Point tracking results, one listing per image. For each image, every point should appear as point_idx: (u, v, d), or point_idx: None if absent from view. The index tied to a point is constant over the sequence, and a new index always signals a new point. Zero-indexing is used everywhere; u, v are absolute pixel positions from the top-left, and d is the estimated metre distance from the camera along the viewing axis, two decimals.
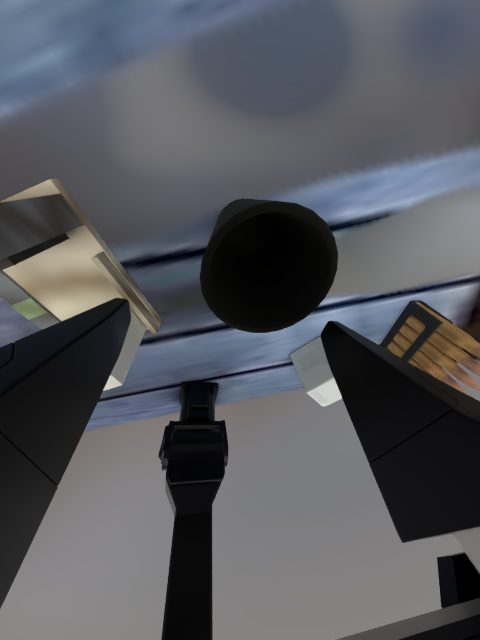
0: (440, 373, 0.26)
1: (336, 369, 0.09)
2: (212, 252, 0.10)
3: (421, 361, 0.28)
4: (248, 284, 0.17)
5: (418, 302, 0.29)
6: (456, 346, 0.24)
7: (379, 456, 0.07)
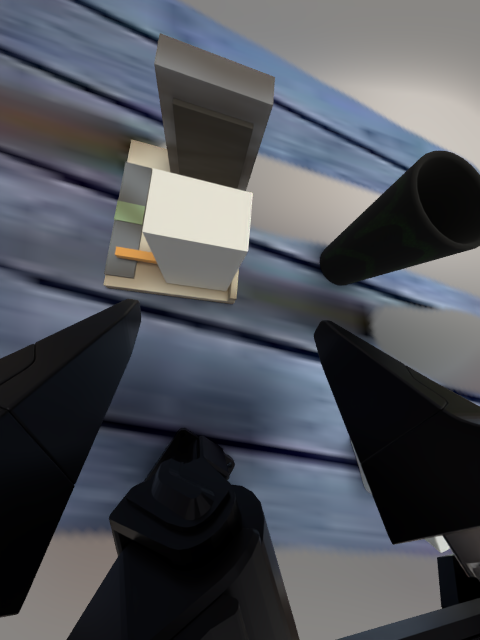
0: None
1: (329, 369, 0.09)
2: (427, 157, 0.14)
3: None
4: None
5: None
6: None
7: (370, 456, 0.07)
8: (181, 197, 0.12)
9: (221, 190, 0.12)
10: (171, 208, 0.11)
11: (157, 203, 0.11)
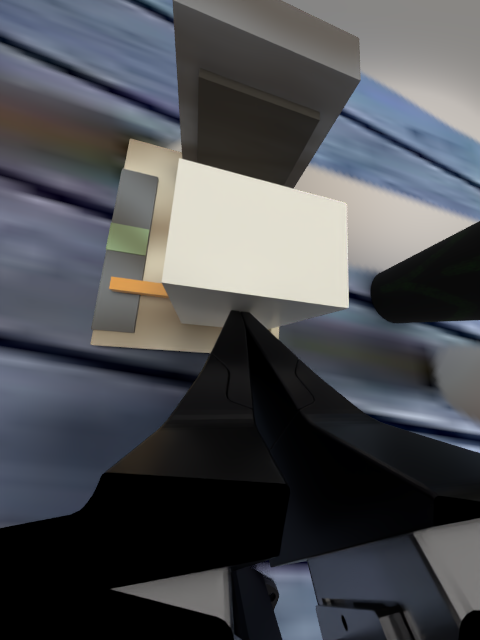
0: None
1: None
2: None
3: None
4: None
5: None
6: None
7: None
8: (232, 213, 0.06)
9: (298, 199, 0.07)
10: (215, 234, 0.06)
11: (189, 225, 0.06)
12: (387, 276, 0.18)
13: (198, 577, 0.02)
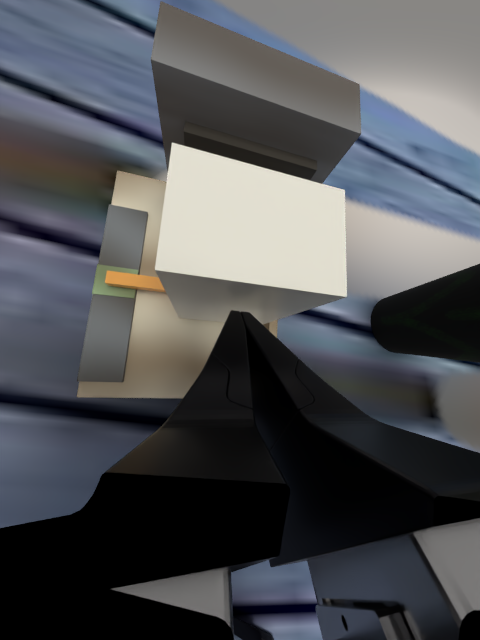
0: None
1: None
2: None
3: None
4: None
5: None
6: None
7: None
8: (227, 199, 0.06)
9: (295, 186, 0.07)
10: (209, 220, 0.06)
11: (183, 211, 0.06)
12: (388, 307, 0.18)
13: (198, 577, 0.02)
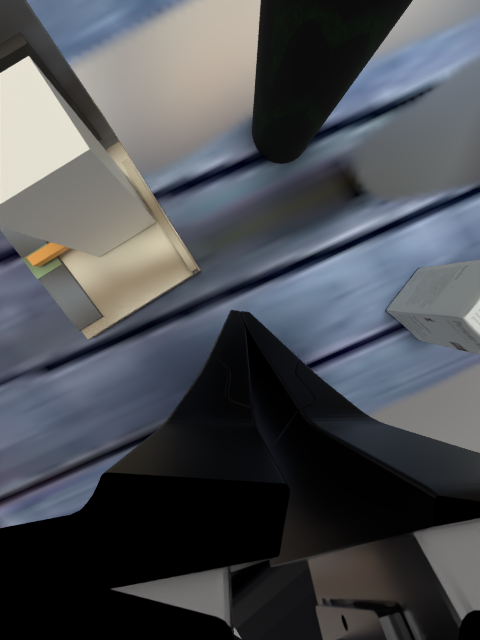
0: None
1: None
2: None
3: None
4: None
5: None
6: None
7: None
8: None
9: None
10: None
11: None
12: (253, 118, 0.17)
13: (198, 577, 0.02)
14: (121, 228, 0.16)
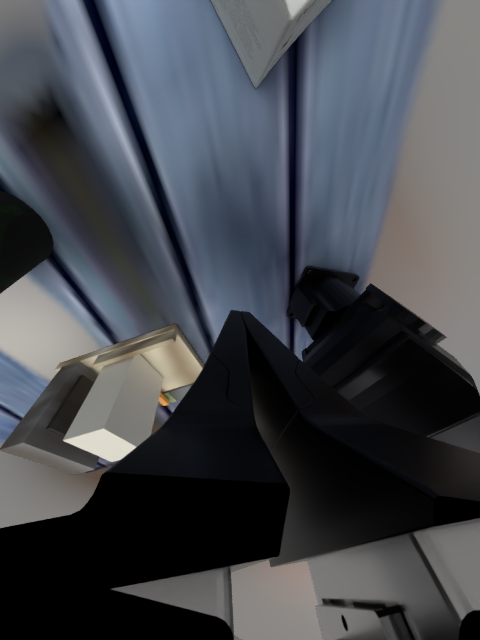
0: None
1: None
2: None
3: None
4: None
5: None
6: None
7: None
8: (112, 452, 0.19)
9: (84, 447, 0.18)
10: (122, 452, 0.19)
11: None
12: None
13: (198, 577, 0.02)
14: (143, 376, 0.23)
